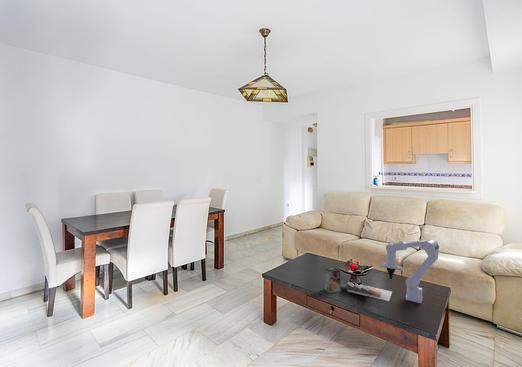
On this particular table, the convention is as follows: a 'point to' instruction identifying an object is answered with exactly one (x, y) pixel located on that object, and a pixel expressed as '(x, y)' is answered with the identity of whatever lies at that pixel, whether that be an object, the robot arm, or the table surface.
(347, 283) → the domino
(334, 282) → the coffee box
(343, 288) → the domino
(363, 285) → the domino
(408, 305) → the table surface
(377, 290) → the domino
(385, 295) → the grey mat
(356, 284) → the domino
